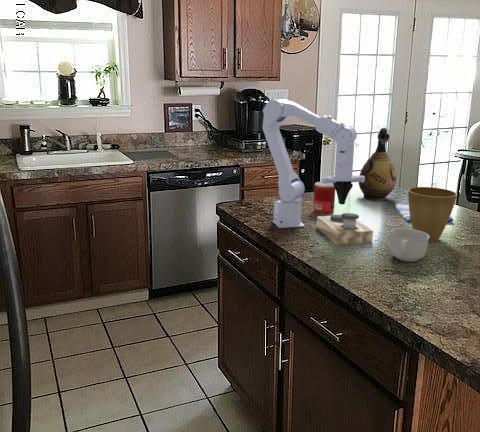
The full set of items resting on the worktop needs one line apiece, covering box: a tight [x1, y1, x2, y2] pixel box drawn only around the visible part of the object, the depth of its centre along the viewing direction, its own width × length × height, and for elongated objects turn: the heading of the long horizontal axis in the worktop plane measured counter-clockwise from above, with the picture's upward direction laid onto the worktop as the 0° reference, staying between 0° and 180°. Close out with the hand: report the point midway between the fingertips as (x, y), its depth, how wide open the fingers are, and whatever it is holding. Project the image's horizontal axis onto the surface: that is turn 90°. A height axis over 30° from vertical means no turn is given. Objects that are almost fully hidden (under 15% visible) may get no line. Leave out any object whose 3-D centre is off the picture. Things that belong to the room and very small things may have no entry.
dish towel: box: [394, 201, 454, 225], centre depth 202 cm, size 17×24×3 cm
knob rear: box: [330, 214, 344, 222], centre depth 180 cm, size 6×6×4 cm
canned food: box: [313, 181, 336, 215], centre depth 204 cm, size 8×8×11 cm
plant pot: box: [407, 186, 458, 243], centre depth 171 cm, size 15×15×16 cm
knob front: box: [340, 212, 360, 230], centre depth 171 cm, size 6×6×4 cm
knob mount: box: [316, 215, 374, 246], centre depth 176 cm, size 12×19×4 cm, turn 12°
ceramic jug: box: [358, 127, 397, 202], centre depth 223 cm, size 17×15×30 cm
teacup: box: [389, 227, 430, 263], centre depth 153 cm, size 14×11×8 cm
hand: (341, 203), depth 177 cm, fingers closed
